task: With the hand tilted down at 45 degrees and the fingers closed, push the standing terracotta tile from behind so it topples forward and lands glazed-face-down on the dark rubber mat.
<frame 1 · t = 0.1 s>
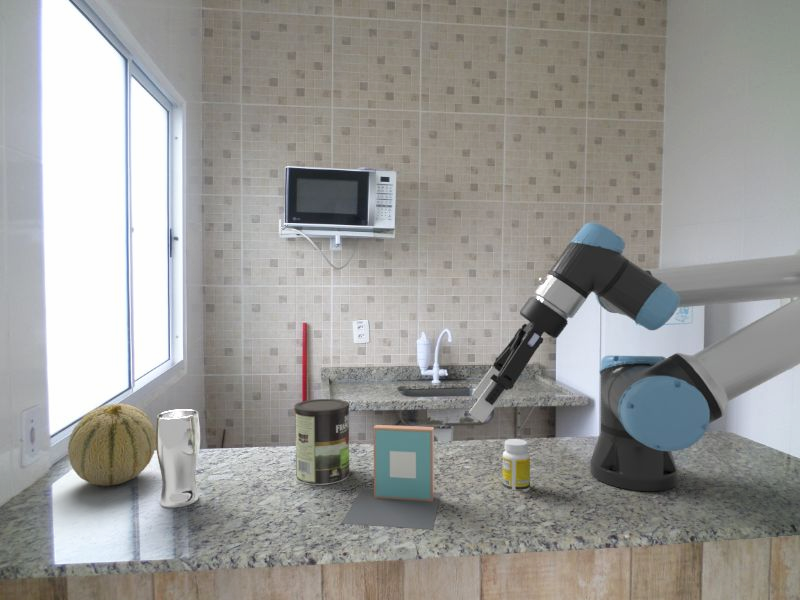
hand: (476, 407, 93), 15 cm above the counter, tool tilted 35°, fingers open, 13 cm apart
beer glass: (179, 501, 92), on the counter
coffee can: (322, 478, 103), on the counter
tile: (404, 497, 92), point 1 cm above the counter, touching mat
cantaloupe: (114, 483, 101), on the counter
mat: (394, 510, 88), on the counter
supplement bottle: (516, 489, 97), on the counter
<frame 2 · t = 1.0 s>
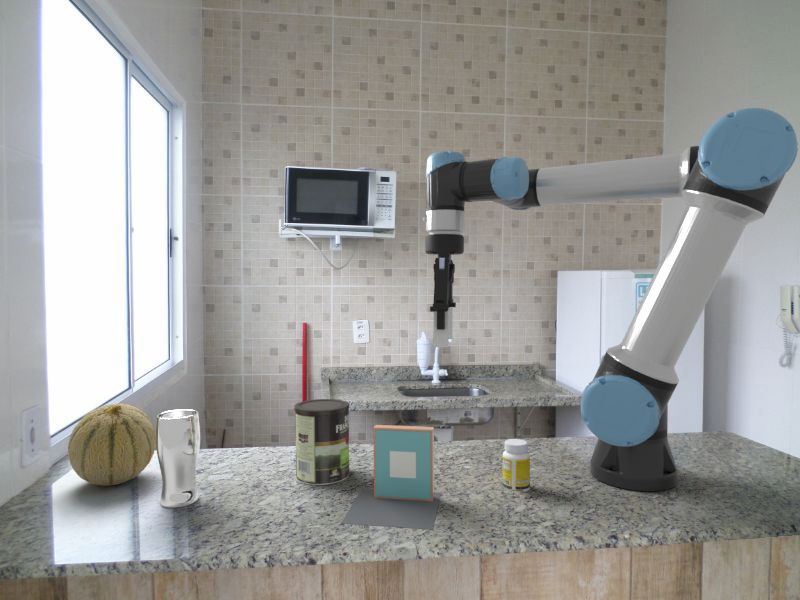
hand: (443, 342, 106), 25 cm above the counter, tool pointing down, fingers open, 13 cm apart
nothing on the counter moved.
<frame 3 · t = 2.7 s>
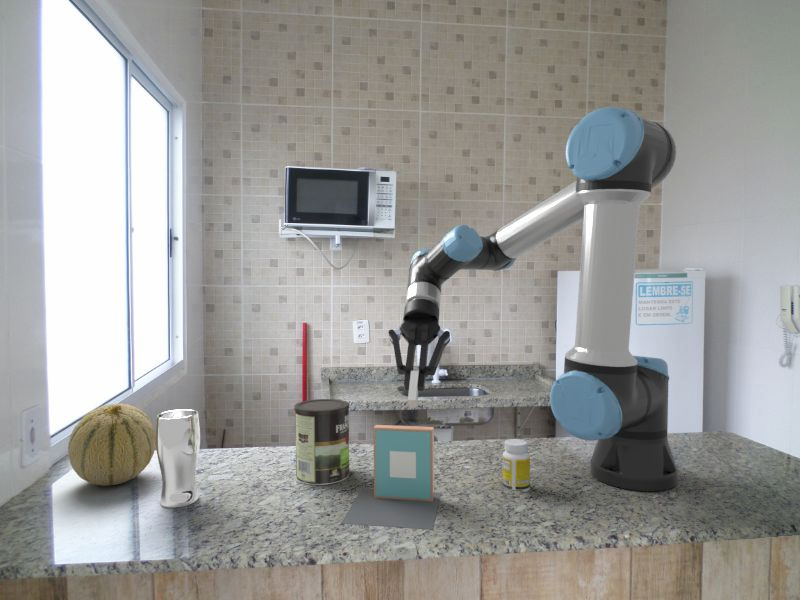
hand: (412, 403, 100), 14 cm above the counter, tool tilted 45°, fingers closed
nothing on the counter moved.
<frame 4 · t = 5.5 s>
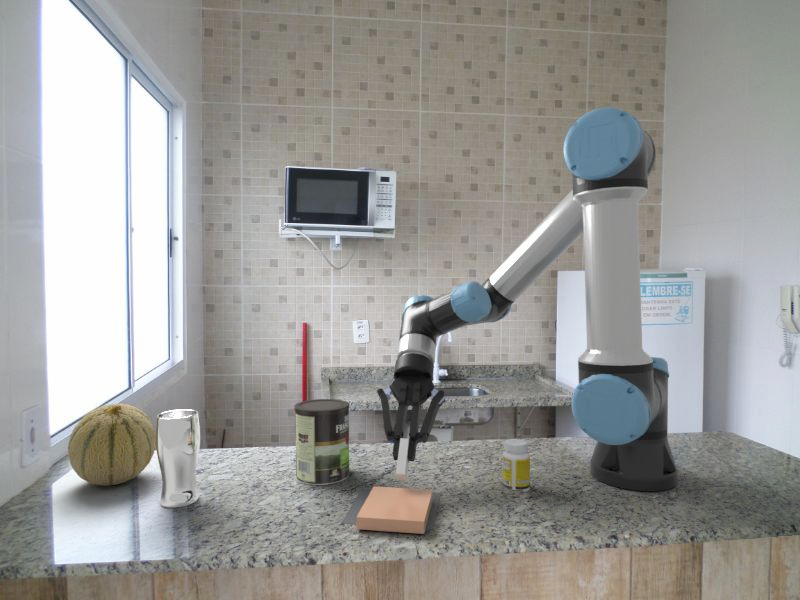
hand: (401, 477, 90), 5 cm above the counter, tool tilted 45°, fingers closed
tile: (403, 493, 90), point 2 cm above the counter, tilted 90°, touching mat
everything else where it was.
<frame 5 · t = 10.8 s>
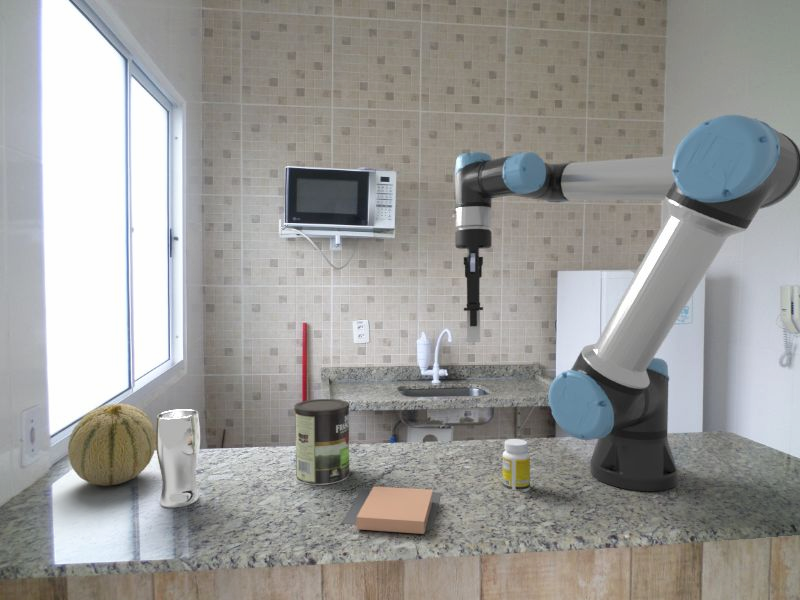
hand: (473, 341, 114), 24 cm above the counter, tool pointing down, fingers closed
nothing on the counter moved.
at the end: tile tilted 90°; tile inside the target area (6.3 cm from its centre), point 1.8 cm above the counter; the gripper is holding nothing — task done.
